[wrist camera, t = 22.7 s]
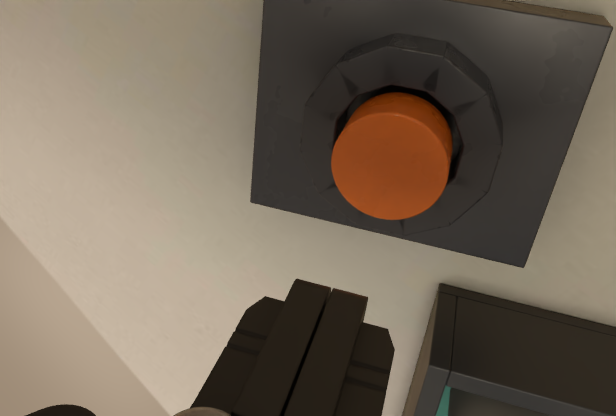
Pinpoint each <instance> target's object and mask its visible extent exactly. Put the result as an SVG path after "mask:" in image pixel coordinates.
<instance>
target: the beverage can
mask: <svg viewBox="0 0 616 416" xmlns="http://www.w3.org/2000/svg"><path fill="white" fill-rule="evenodd" d="M448 416H550V415H547V414H543V413H540V412H536V411H533V410H529V409H526V408H522V407H519V406H515V405H512V404H508V403H504V402H501V401H497V400H494V399H490V398H487V397H483V396H480V395H476V394H473V393H469V392H465V391H462V390H458V389H455V388H451V389H450V397H449V408H448Z"/></svg>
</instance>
